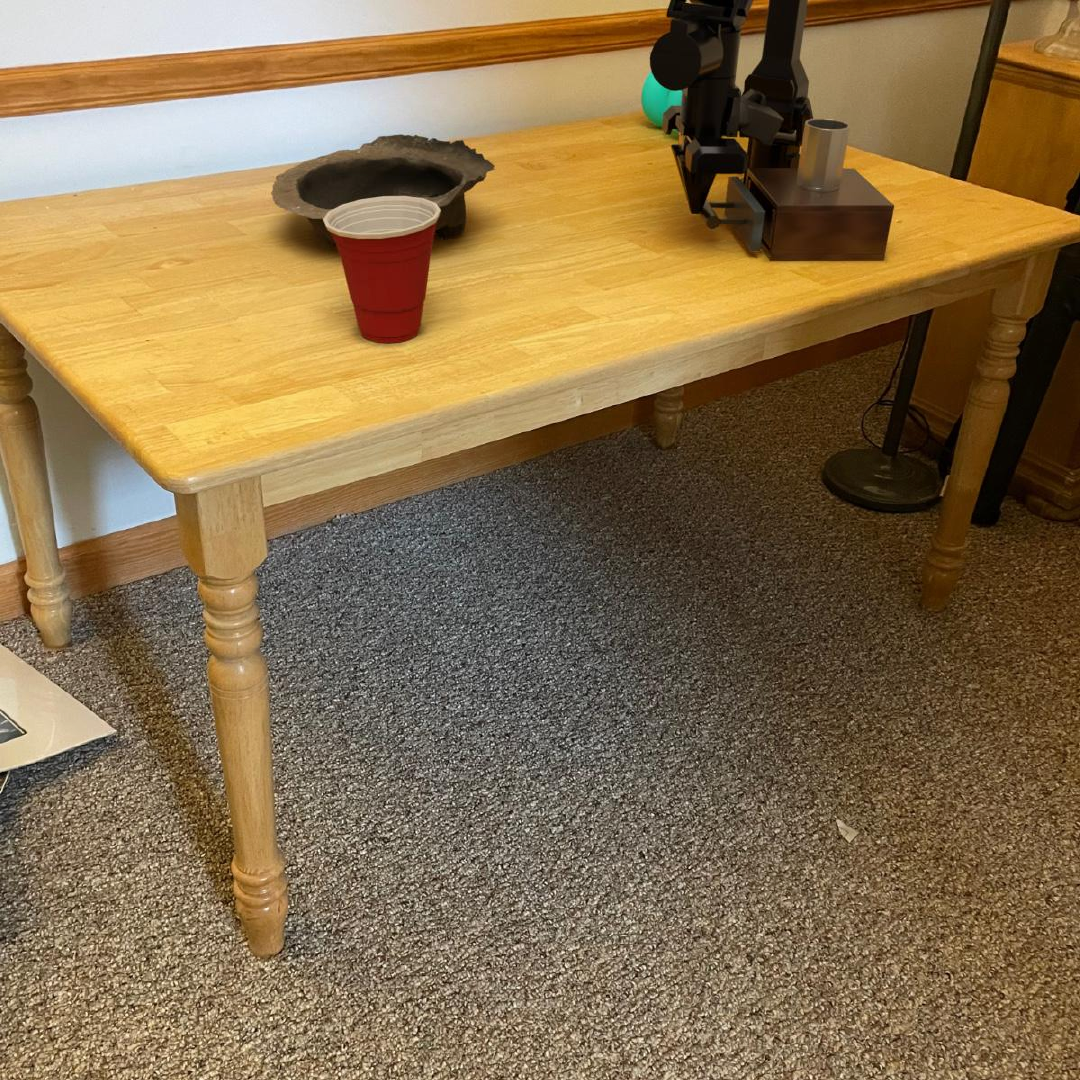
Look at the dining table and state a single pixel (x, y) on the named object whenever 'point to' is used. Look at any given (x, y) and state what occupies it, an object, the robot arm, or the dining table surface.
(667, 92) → the teal yo-yo
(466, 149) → the stone bowl
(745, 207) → the drawer
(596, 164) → the dining table surface
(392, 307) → the plastic cup
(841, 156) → the cup
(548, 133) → the dining table surface
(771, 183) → the cabinet
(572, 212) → the dining table surface
